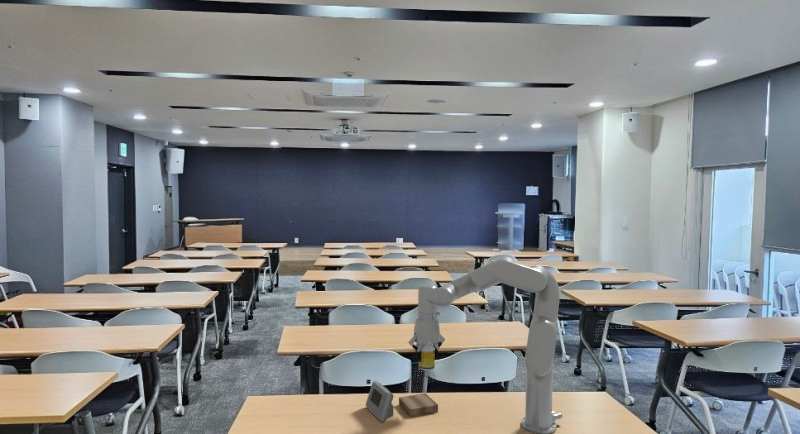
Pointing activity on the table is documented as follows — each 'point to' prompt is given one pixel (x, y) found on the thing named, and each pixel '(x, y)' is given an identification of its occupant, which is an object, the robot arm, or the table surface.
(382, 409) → the digital clock
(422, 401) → the walnut block
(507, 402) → the table surface
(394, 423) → the table surface
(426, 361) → the pill bottle
